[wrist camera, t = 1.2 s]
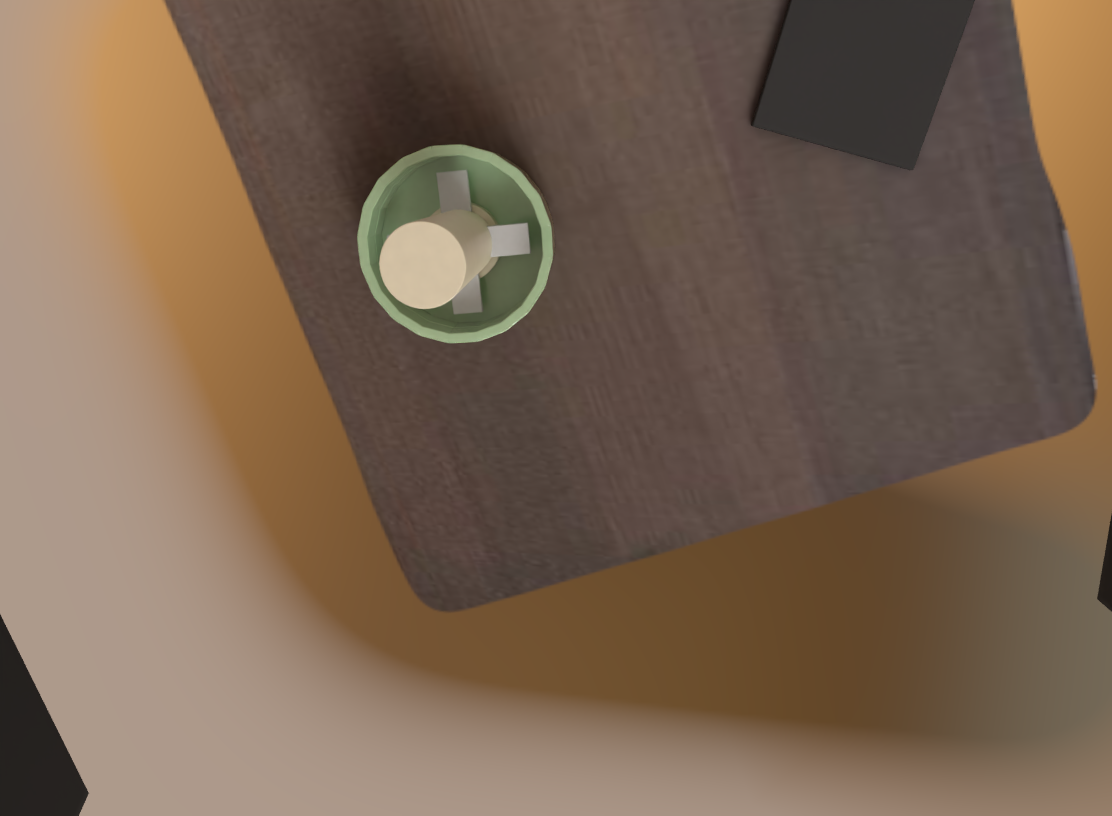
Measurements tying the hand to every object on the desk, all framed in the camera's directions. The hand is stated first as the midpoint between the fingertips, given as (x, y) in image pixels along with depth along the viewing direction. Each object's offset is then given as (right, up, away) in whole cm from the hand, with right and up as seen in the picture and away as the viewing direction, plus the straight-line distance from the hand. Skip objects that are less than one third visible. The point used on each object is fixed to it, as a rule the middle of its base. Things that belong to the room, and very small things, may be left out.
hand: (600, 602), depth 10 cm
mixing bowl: (-6, +13, +44) cm, 46 cm away
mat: (+17, +23, +40) cm, 49 cm away
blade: (-6, +13, +43) cm, 45 cm away
